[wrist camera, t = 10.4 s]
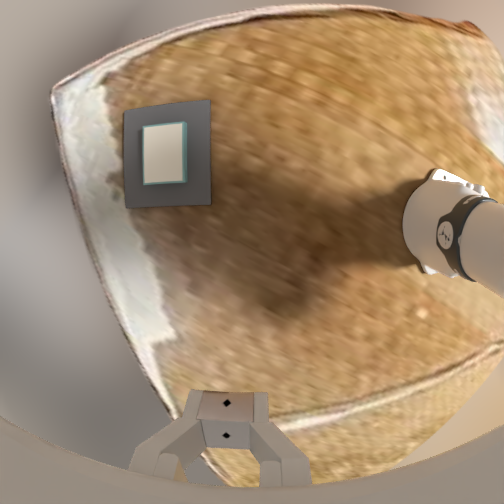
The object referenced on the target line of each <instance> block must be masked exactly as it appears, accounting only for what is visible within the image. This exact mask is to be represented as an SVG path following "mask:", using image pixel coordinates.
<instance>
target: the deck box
mask: <svg viewBox="0 0 504 504" xmlns="http://www.w3.org/2000/svg"><path fill="white" fill-rule="evenodd" d="M184 182H188V180H187V123H186V122H184V121H183V122H173V123H164V124H156V125H148V126H143V185H152V184H167V183H184Z"/></svg>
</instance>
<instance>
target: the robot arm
mask: <svg viewBox="0 0 504 504" xmlns="http://www.w3.org/2000/svg"><path fill="white" fill-rule="evenodd" d="M443 176H444V179H443ZM403 235H404V239H405V242H406V245H407V247H408V249H409V250H410V252H411V253H412V254H413V255H414V256H415V257H416V258H417V259H418V260H419V261H420V263H421V266H422V268H423V270H424V272H425V273H427V274H429V275H431V274H435V273H438V272H439V273H441V274H443V275H445V276H447V277H449V278H453V277H454V276H458V275H459V276H461V277H463V278H464V279H467V280H470V281H472V282H478V283H480V284H481V285H483V286H485V287H486V288H488V289H489V290H491V291H492V292H494V293H496V294H497V295H499V296H500V297H502V298H504V204H501V203H498V202H497V201H495V200H493V199H491V198H489V195H488V193H487V192H486V191H485V187H483V186H481V185H478V184H474V185H473V184H471V183H469V182H467V181H465V180H463V179H461V178H459V177H457V176H455V175H453V174H451V173H448V172H446V171H444V170H442V169H438V168H437V169H435V170H434V171H433V172H432V173H431V175H430V177H429V179H428V180H427V181H426V182H425V183H424V184H422V185H421V186H420V187H418V188H417V189H416V190H415V191H414V193H413V194H412V195H411V197H410V198H409V200H408V202H407V205H406V208H405V211H404V216H403ZM206 447H211V448H231V449H250V451H251V453H252V454H253V455H254V457H255V458H256V460H257V461H258V462H259V464H260V484H259V487H231V486H216V485H205V484H196V483H188V481H187V478H186V475H185V473H184V470H185V469H186V468H187V467H188V466H189V465H190V464H191V463H192V462H193V461H194V460H195V459H196V458H197V457H198V456H199V455H200V454H201V453H202V452H203V451H204V450H205V449H206ZM0 504H504V425H501V426H498V427H496V428H495V429H493V430H491V431H489V432H487V433H485V434H483V435H481V436H479V437H477V438H475V439H473V440H471V441H469V442H467V443H465V444H463V445H460V446H458V447H456V448H453V449H451V450H449V451H446V452H444V453H441V454H439V455H436V456H433V457H430V458H428V459H425V460H422V461H419V462H416V463H413V464H410V465H407V466H403V467H400V468H396V469H393V470H389V471H385V472H381V473H377V474H373V475H368V476H364V477H359V478H353V479H348V480H342V481H336V482H329V483H321V484H312V480H311V473H310V465H309V458H308V457H307V456H306V455H305V454H304V453H303V452H302V451H301V450H300V449H299V448H297V447H296V446H295V445H294V444H293V443H292V442H291V441H290V440H289V439H288V438H287V437H286V436H285V435H284V433H283V432H282V431H281V430H280V429H279V428H278V427H277V426H276V425H275V424H274V423H273V422H269V411H268V393H267V392H255V393H254V392H219V391H206V390H204V391H203V390H194V389H191V391H190V392H189V395H188V399H187V402H186V405H185V409H184V412H183V416H182V418H177V419H176V420H174V421H173V422H171V423H170V424H169V425H167V426H166V427H165V428H163V429H162V430H160V431H159V432H157V433H156V434H154V435H153V436H152V437H150V438H149V439H147V440H146V441H144V442H143V443H141V444H140V445H138V446H137V447H136V449H135V452H134V455H133V457H132V460H131V462H130V465H129V467H128V470H124V469H120V468H117V467H113V466H110V465H107V464H104V463H101V462H98V461H95V460H92V459H89V458H86V457H84V456H81V455H78V454H76V453H73V452H71V451H68V450H66V449H63V448H61V447H58V446H56V445H54V444H52V443H50V442H47V441H45V440H43V439H41V438H39V437H37V436H35V435H33V434H31V433H29V432H27V431H25V430H24V429H21V428H20V427H18V426H16V425H14V424H13V423H11V422H9V421H8V420H6V419H4V418H2V417H1V416H0Z"/></svg>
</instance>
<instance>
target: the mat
mask: <svg viewBox="0 0 504 504" xmlns="http://www.w3.org/2000/svg"><path fill="white" fill-rule="evenodd" d="M210 106H211V101H210V100H201V101H190V102H180V103H171V104H163V105H156V106H149V107H143V108H137V109H131V110H126V111H125V113H124V184H125V203H126V208H138V207H158V206H183V205H211V161H210ZM183 121H184V122H186V123H187V180H188V182H184V183H167V184H152V185H143V126H148V125H156V124H164V123H173V122H183Z"/></svg>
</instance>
